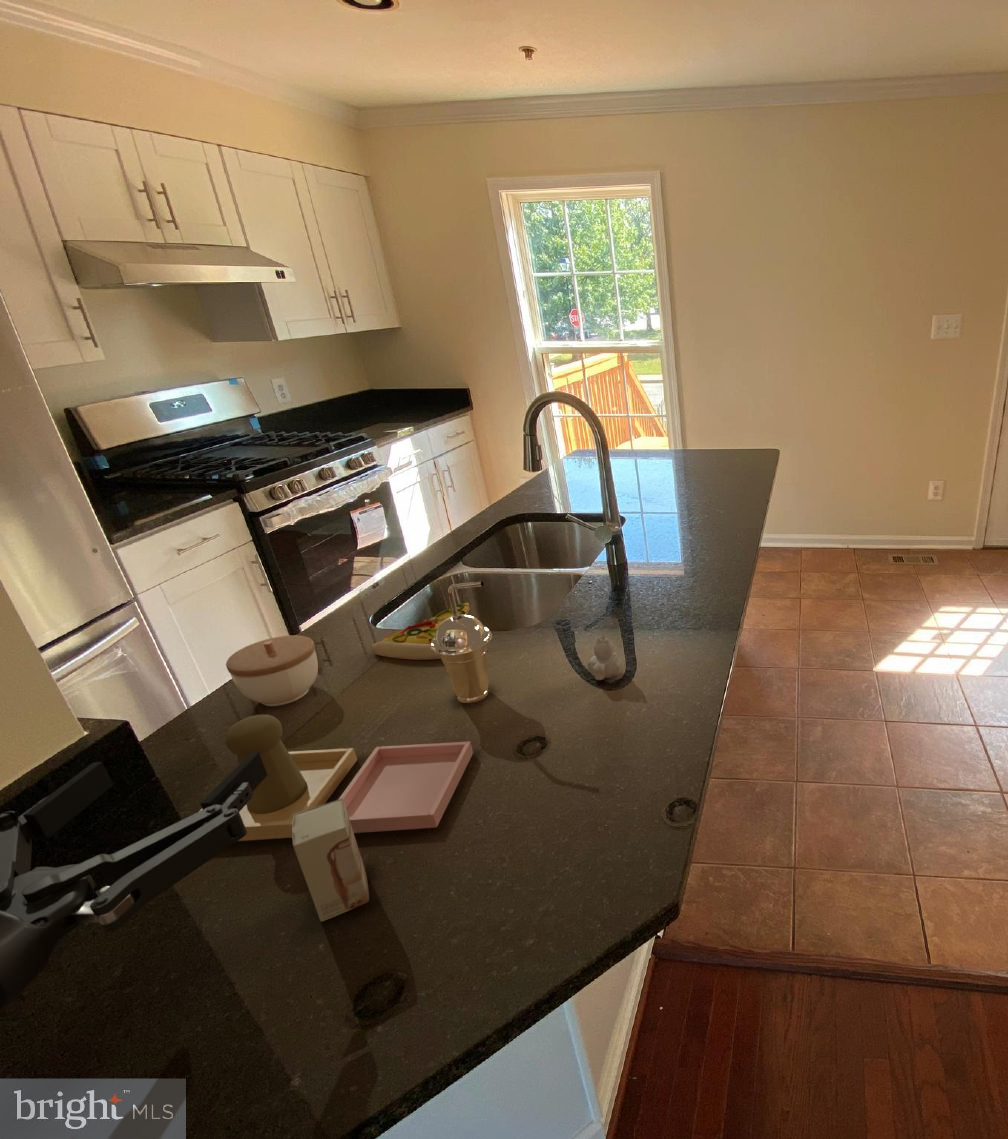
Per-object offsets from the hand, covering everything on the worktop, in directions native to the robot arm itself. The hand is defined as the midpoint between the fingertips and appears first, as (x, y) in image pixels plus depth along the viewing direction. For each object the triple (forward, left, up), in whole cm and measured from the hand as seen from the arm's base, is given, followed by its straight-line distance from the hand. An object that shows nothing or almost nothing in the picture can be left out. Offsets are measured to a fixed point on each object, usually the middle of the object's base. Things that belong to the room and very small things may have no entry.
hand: (182, 768), depth 58 cm
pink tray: (-5, +17, -16) cm, 24 cm away
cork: (-13, +4, -15) cm, 20 cm away
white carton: (+8, +9, -16) cm, 20 cm away
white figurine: (-15, +48, -16) cm, 52 cm away
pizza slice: (-47, +29, -16) cm, 58 cm away
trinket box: (-39, +5, -16) cm, 43 cm away
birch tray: (-13, +4, -16) cm, 21 cm away
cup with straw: (-22, +29, -16) cm, 40 cm away
